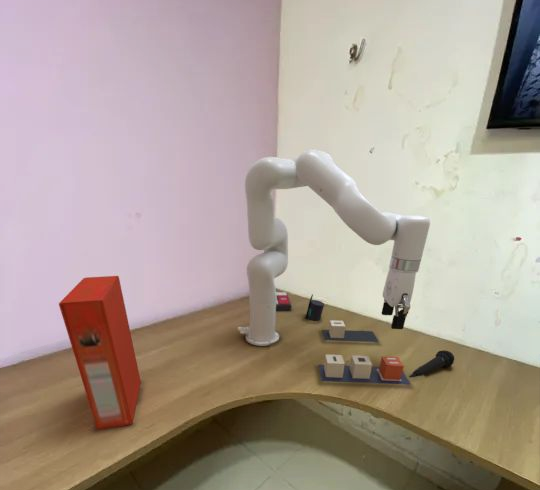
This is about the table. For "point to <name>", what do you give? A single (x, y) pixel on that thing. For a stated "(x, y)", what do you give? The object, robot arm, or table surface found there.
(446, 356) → the microphone
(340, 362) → the white cube
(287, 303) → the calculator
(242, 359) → the table surface
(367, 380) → the front mat
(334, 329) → the block
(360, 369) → the block
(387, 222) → the robot arm
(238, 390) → the table surface
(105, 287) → the file binder
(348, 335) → the back mat
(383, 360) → the block
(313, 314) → the speaker
